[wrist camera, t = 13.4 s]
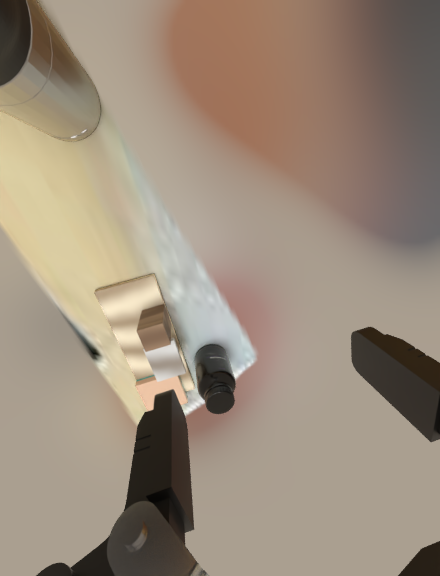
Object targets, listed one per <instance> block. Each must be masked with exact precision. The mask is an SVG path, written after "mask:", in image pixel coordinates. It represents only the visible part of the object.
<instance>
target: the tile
mask: <svg viewBox="0 0 440 576" xmlns="http://www.w3.org/2000/svg"><path fill="white" fill-rule="evenodd" d="M136 388H137V390H138V392H139V394H140V397H141V399H142V401H143V403H144V405H145V407H146V409H147V411H151V410H153V407H154V397H155V395H156V394H159V393H162V392H165V391H168V390H171V389H174V391H175V393H176V395H177V398H178V400H179V403H180V405H182V404H185V403H188V397H187V394H186V392H185V389H184V386H183V384H182V381H181V379H180V376H179V375H178V376H175V377H172V378H169V379H166V380H163V381H159V382H157V380H156V378H155V375H152V376H149V377H145V378H142V379H139V380H137V381H136Z"/></svg>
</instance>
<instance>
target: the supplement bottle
mask: <svg viewBox="0 0 440 576" xmlns="http://www.w3.org/2000/svg"><path fill="white" fill-rule="evenodd" d="M195 369H196V378H197V387H198V392H199V395H200V396H201V397H202V398H203V399H204V400H205V403H206V407H207V409H208V410H209V411H210V412H212V413H214V414H222V413H225V412H227V411H229V410H230V409H231V408H232V407H233V405H234V401H235V400H234V395H233V392H234V390H235V387H236V386H235V385H236V382H235V378H234V375H233V372H232V368H231V365H230V362H229V359H228V356H227V353H226V351H225V350H224V349H223V348H222V347H220V346H217V345H208V346H205V347H203V348H202V349H200V350H199V351H198V353H197V354H196V357H195Z"/></svg>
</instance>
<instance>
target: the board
mask: <svg viewBox="0 0 440 576" xmlns="http://www.w3.org/2000/svg"><path fill="white" fill-rule="evenodd" d="M94 293H95V295H96V297H97V299H98V302H99V304H100V306H101V308H102V310H103V312H104V314H105V316H106V318H107V320H108V322H109V324H110V326H111V328H112V330H113V333H114V335H115V337H116V339H117V341H118V343H119V345H120V347H121V349H122V351H123V353H124V355H125V357H126V359H127V361H128V364H129V366H130V368H131V370H132V372H133V374H134V376H135V378H136V380H139V379H142V378H145V377H149V376H152V375H154V373H153V371H152V368H151V366H150V364H149V362H148V359H147V357H146V355H145V352H144V350H143V348H144V347H143V345H142V343H141V340H140V338H139V336H138V334H137V331H136V330H137V327H138V323H139V319H140V315H141V312H142V310H145V309H148V308H152V307H155V306H158V305H162V304H164V305H165V302H164V299H163V297H162V294H161V291H160V288H159V286H158V283H157V280H156V277H155V274H151V275H147V276H144V277H140V278H136V279H133V280H129V281H126V282H122V283H118V284H115V285H111V286H108V287H104V288H100V289H97V290H95V292H94ZM165 308H166V305H165ZM166 310H167V308H166ZM167 313H168V310H167ZM168 316H169V313H168ZM169 319H170V316H169ZM170 321H171V319H170ZM171 338H174V339H175V342H176V345H177V347H178V350H179V353H180V356H181V358H182V361H183V364H184V367H185V369H186V373H185V374H182V375H179V376H180V379H181V381H182V384H183V386H184V389H185V392H186V391H189V390H193V389H195V386H194V382H193V380H192V377H191V374H190V371H189V369H188V366H187V363H186V360H185V358H184V355H183V352H182V349H181V346H180V344H179V341H178V338H177V335H176V333H175V330H174V327H173V324H172V322H171Z"/></svg>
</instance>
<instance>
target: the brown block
mask: <svg viewBox="0 0 440 576" xmlns="http://www.w3.org/2000/svg"><path fill="white" fill-rule="evenodd" d="M136 331H137V334H138V336H139V338H140V340H141V343H142V345H143V347H144V348H143V350H144V352H145V355H146V357H147V359H148V362H149V364H150V366H151V368H152V371H153V373H154V375H155V378H156V380H157V382H159V381H163V380H166V379H169V378H172V377H175V376H178V375H182V374H185V373H186V369H185V367H184V364H183V361H182V358H181V356H180V353H179V350H178V347H177V345H176V342H175V339H174V338H171V321H170V319H169V316H168V313H167V310H166V308H165V305H164V304H162V305H158V306H155V307H152V308H148V309H145V310H142V312H141V315H140V319H139V323H138V327H137V330H136Z"/></svg>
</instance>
